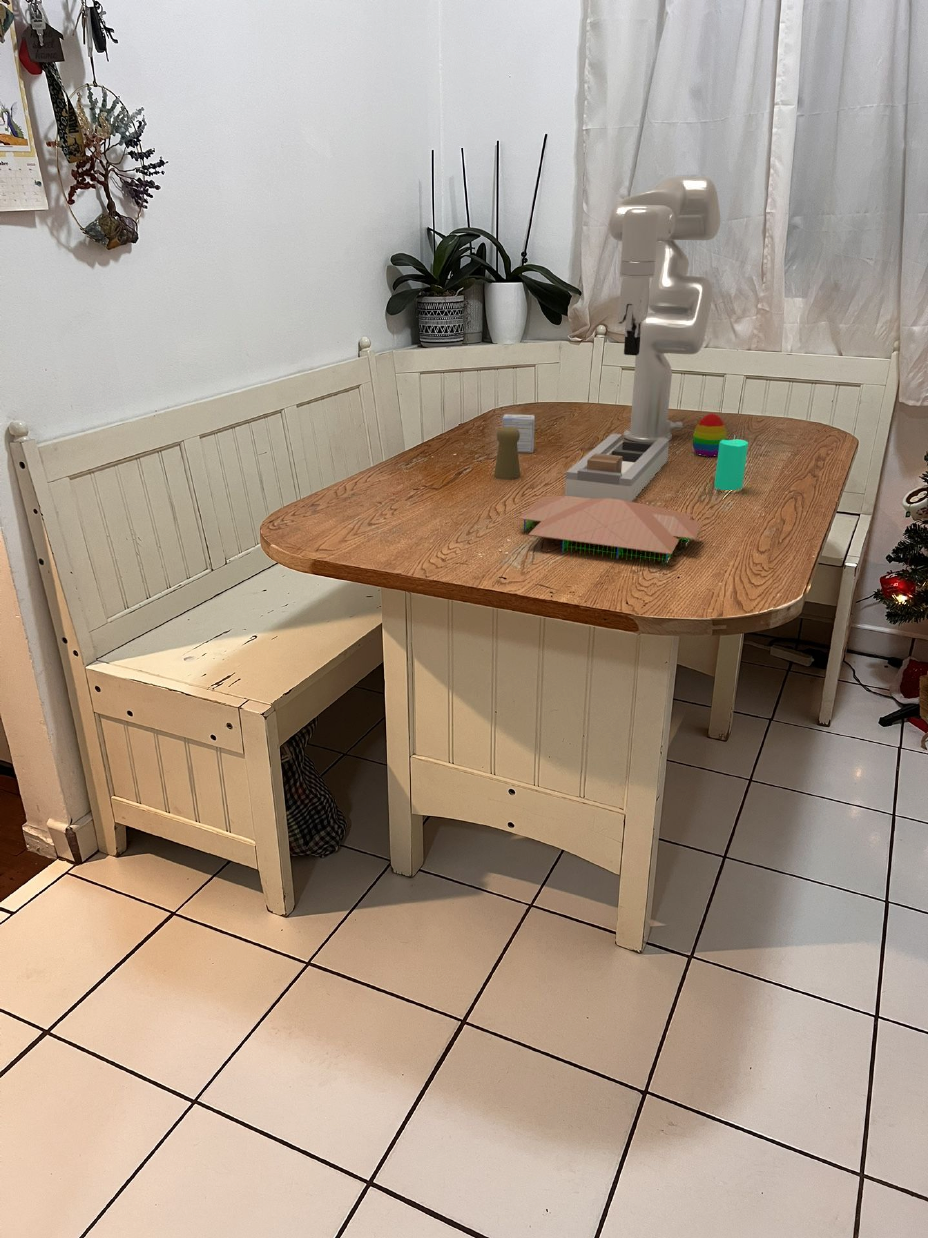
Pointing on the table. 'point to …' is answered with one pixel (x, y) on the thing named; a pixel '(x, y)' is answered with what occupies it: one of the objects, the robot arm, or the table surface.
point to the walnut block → (605, 463)
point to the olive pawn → (507, 454)
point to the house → (610, 524)
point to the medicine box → (522, 430)
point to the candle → (731, 464)
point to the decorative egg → (709, 435)
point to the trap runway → (626, 485)
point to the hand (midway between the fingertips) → (631, 354)
